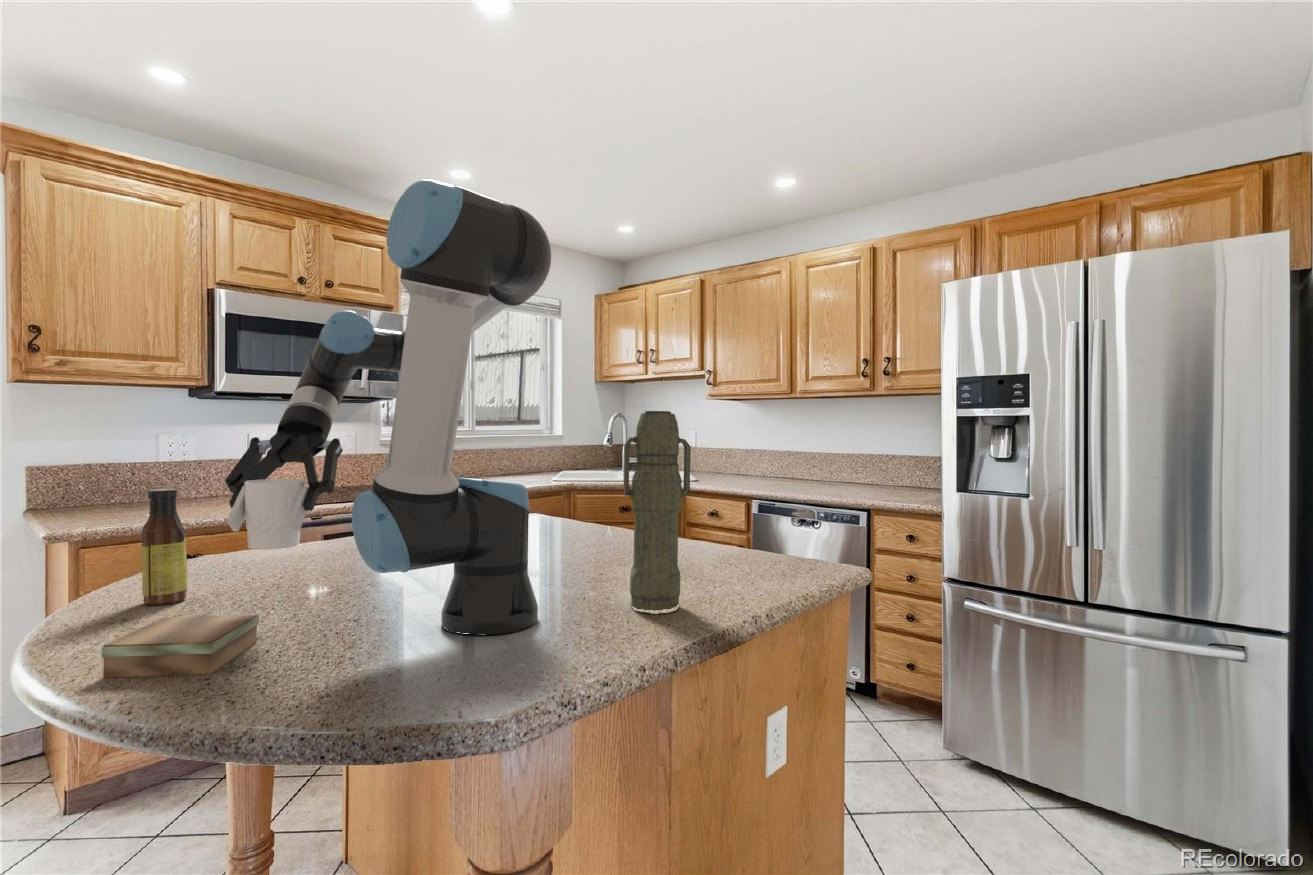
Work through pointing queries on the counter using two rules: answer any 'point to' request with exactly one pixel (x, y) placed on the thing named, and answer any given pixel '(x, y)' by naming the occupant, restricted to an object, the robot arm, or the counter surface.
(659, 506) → the thermos
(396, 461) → the robot arm
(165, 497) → the sauce bottle
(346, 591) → the counter surface
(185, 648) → the walnut block
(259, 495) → the white cup
